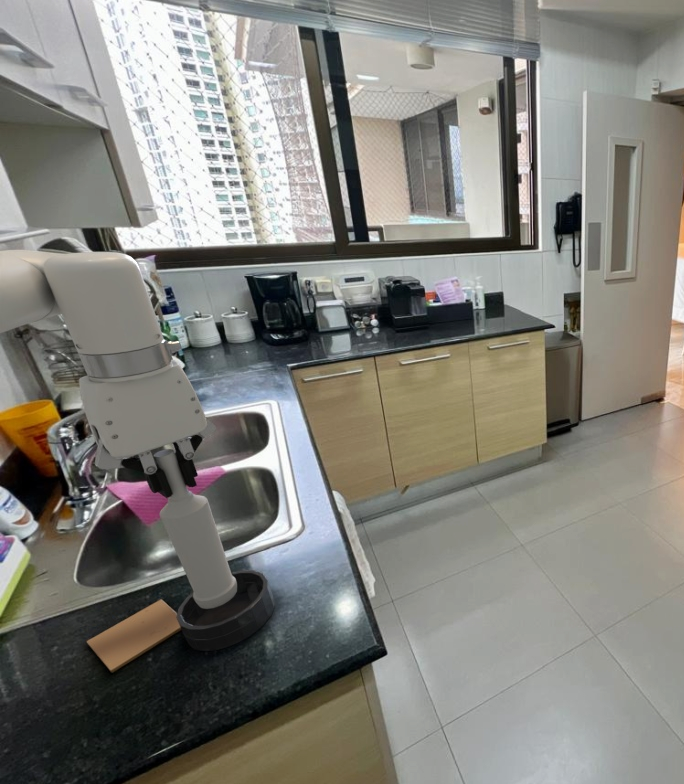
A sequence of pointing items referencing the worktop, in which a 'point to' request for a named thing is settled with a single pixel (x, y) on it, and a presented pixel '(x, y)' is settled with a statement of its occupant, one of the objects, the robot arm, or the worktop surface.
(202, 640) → the dark grey round tray
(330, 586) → the worktop surface
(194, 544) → the bottle
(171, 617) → the cork mat
